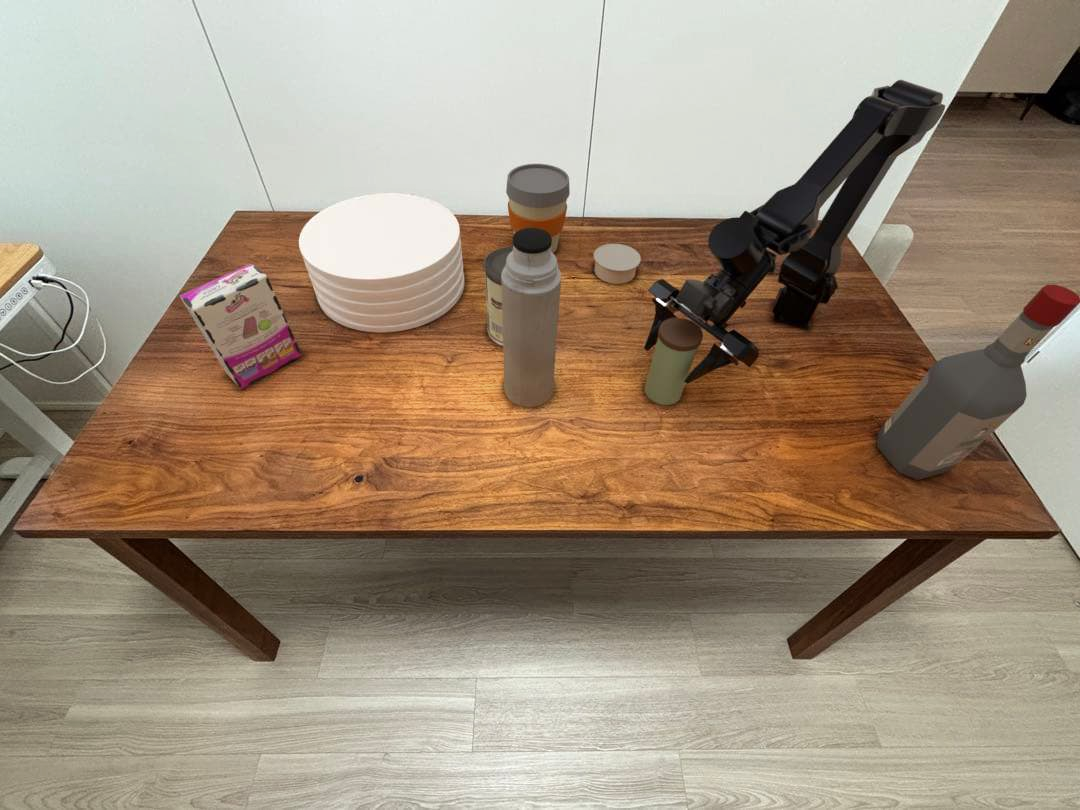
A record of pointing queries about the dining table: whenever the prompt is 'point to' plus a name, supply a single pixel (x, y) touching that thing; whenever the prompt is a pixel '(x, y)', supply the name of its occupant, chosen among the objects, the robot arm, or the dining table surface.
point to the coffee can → (495, 291)
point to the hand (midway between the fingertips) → (665, 365)
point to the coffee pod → (616, 263)
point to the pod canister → (672, 359)
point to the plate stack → (384, 261)
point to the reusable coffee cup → (538, 199)
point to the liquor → (969, 393)
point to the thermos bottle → (530, 317)
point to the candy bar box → (243, 324)
